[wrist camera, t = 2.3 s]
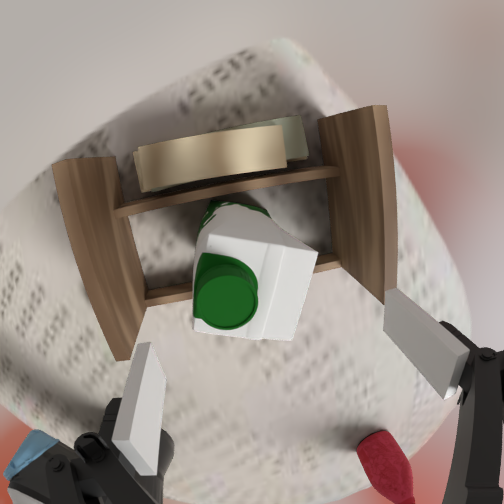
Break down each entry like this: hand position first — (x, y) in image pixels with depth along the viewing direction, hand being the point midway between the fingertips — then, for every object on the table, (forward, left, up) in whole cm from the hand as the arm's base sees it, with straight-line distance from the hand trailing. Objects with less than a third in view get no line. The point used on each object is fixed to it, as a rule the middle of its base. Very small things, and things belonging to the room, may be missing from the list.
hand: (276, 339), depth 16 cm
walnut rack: (0, +4, -24) cm, 24 cm away
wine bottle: (+23, -57, -24) cm, 66 cm away
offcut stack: (0, +10, -24) cm, 26 cm away
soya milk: (0, 0, -24) cm, 24 cm away
